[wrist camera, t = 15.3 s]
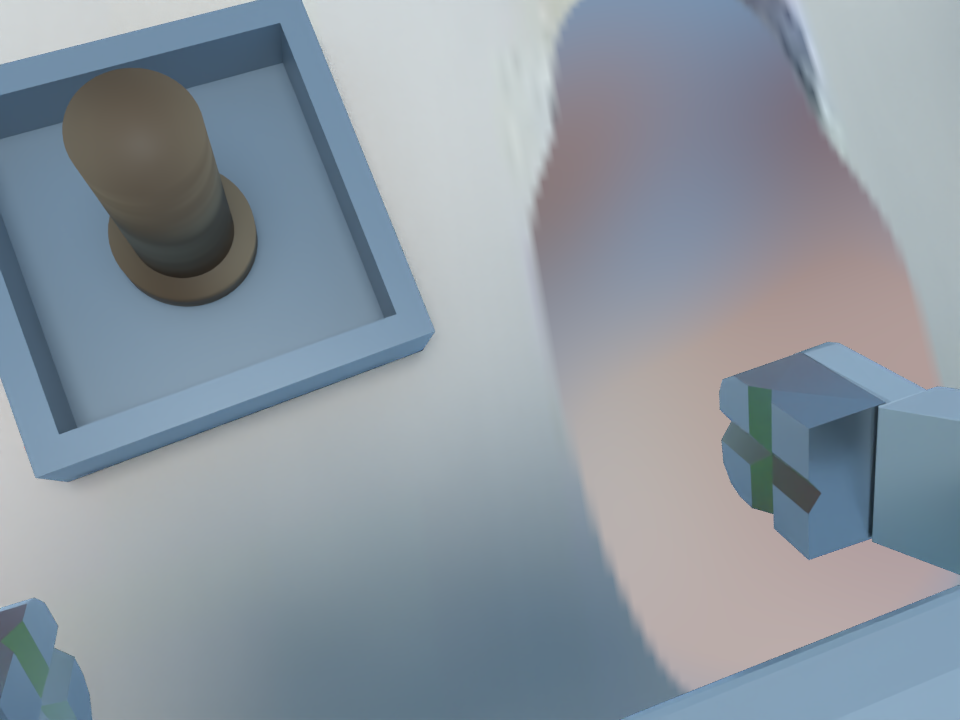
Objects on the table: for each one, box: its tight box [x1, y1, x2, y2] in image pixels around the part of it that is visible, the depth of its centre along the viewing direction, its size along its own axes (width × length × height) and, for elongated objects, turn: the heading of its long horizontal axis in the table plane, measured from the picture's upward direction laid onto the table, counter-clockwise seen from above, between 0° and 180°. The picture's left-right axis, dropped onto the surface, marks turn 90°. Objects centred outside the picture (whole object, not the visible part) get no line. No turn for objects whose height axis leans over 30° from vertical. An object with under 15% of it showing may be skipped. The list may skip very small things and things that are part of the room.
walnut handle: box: [62, 68, 258, 307], centre depth 26 cm, size 5×5×9 cm
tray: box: [0, 0, 435, 482], centre depth 29 cm, size 13×13×4 cm
